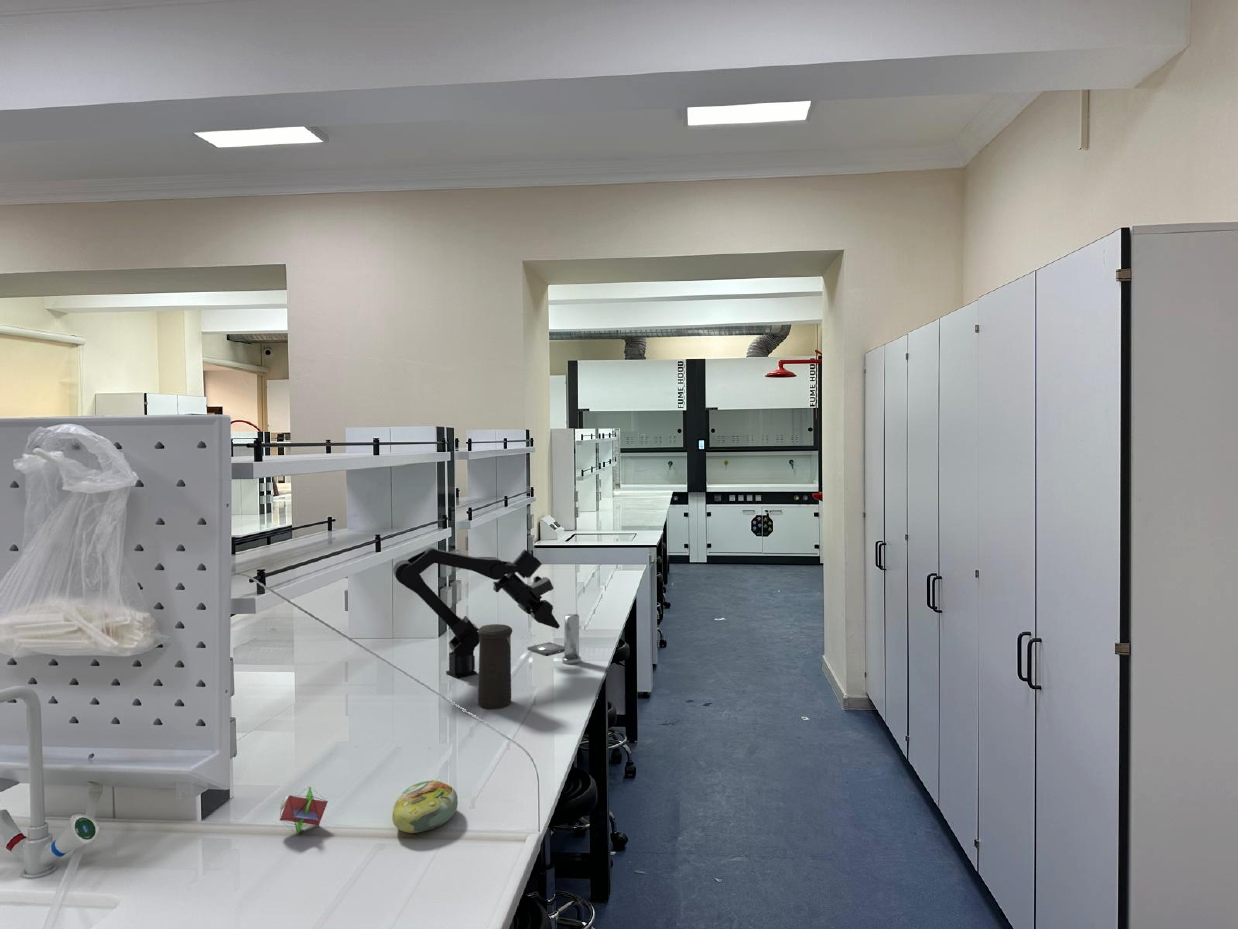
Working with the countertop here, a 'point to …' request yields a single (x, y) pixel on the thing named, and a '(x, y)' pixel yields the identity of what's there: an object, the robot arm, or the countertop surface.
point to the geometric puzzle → (302, 810)
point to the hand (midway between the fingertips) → (554, 623)
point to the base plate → (546, 648)
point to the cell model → (424, 806)
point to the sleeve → (571, 639)
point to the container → (494, 666)
